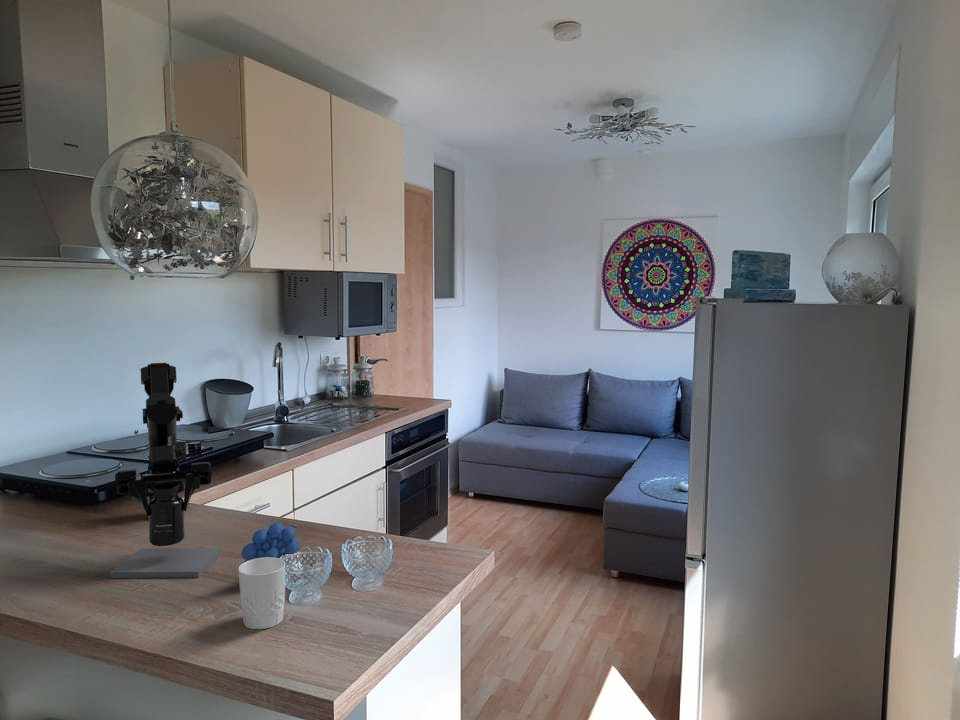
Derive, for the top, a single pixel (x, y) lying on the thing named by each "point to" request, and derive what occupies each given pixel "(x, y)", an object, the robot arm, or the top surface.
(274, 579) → the white cup
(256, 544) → the grapes
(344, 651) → the top surface
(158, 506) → the supplement bottle
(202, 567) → the board
